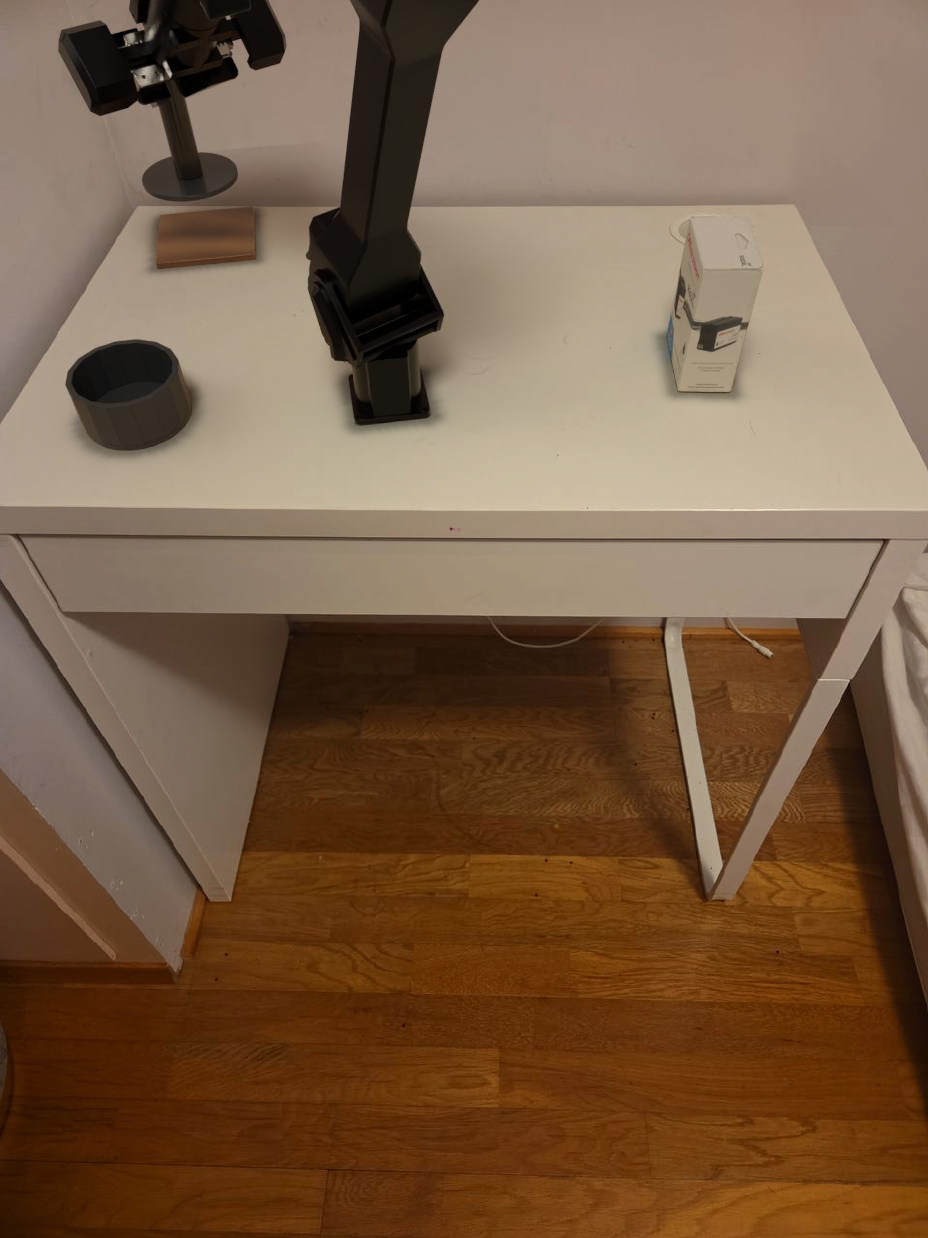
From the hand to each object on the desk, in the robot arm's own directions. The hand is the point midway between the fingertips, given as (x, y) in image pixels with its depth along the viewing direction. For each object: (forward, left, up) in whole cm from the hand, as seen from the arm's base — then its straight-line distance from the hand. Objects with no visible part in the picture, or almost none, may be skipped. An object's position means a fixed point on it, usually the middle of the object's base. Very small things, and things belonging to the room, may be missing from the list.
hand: (165, 97), depth 85 cm
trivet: (-1, -1, -14) cm, 14 cm away
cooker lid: (-1, -1, -7) cm, 7 cm away
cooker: (-30, +5, -14) cm, 33 cm away
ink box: (-31, -45, -14) cm, 56 cm away
